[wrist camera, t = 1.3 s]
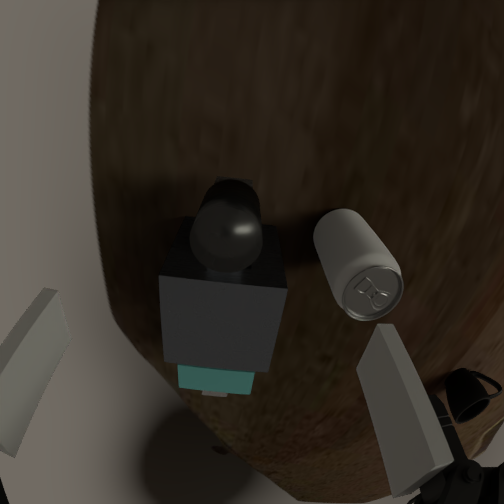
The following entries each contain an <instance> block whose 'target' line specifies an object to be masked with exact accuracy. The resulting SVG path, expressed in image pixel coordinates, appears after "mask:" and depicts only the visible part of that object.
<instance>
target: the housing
mask: <svg viewBox="0 0 504 504" xmlns="http://www.w3.org/2000/svg"><path fill="white" fill-rule="evenodd" d="M195 219H196V217H188V216H186V217H185V219H184V221H183V223H182V225H181V227H180V229H179V231H178V234H177V236H176V238H175V240H174V242H173V244H172V247H171V249H170V251H169V253H168V255H167V258H166V260H165V262H164V264H163V267H162V269H161V271H160V274H159V294H160V312H161V327H162V340H163V351H164V362H170V363H177V364H185V365H193V366H201V367H210V368H220V369H230V370H242V371H256V372H268V370H269V366H270V362H271V358H272V354H273V350H274V346H275V341H276V337H277V333H278V329H279V325H280V321H281V316H282V312H283V308H284V304H285V299H286V295H287V290H288V287H287V281H286V276H285V270H284V265H283V259H282V254H281V249H280V243H279V238H278V233H277V228H276V226H272V225H264V224H261V225H262V237H263V245H262V249H261V252H260V254H259V256H258V258H257V259H256V260H255V261H254V262H253V263H252V264H251V265H250V266H248V267H247V268H245V269H243V270H240V271H237V272H231V273H223V272H217V271H214V270H212V269H209V268H207V267H206V266H204V265H203V264H202V263H201V262H199V260H198V259H197V258H196V257H195V255H194V254H193V252H192V249H191V246H190V232H191V229H192V226H193V224H194V221H195Z"/></svg>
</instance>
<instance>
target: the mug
mask: <svg viewBox="0 0 504 504" xmlns="http://www.w3.org/2000/svg"><path fill="white" fill-rule="evenodd" d="M476 377H477V378H480V379H482V380H484V381H486V382H488V383H490V384H491V385H493V386H494V387H495V388H496V389H497V390H498V393H496V394H492V395H488V393H487V391H486V390H485V388H484V386H483V385H482V384H481V383H480V381H479V380H478V379H477V378H476ZM445 386H446V394H447V400H448V404H449V407H450V411H451V413H452V415H453V418H454V420H455V422H456V423H457V424H461V423H464V422H467V421H469V420H471V419H473V418H474V417H476V416H477V415H479V414H480V413H481V412H482V411H483V410H484V409H485V408H486V407H487V406H488V405H489V403H490V399H492V398H494V397H496V396H498V395H500V394H501V393H502V387H501V385H500V384H499V383H498V382H496V381H494V380H493V379H491V378H489V377H487V376H485V375H483V374H481V373H479V372H476V371H470V372H469V371H468V370H467V369H466V368H461V369H458V370H456V371H455V372H453V373H452V374H451V375H449V377H448V378H447V379H446V381H445Z"/></svg>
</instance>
